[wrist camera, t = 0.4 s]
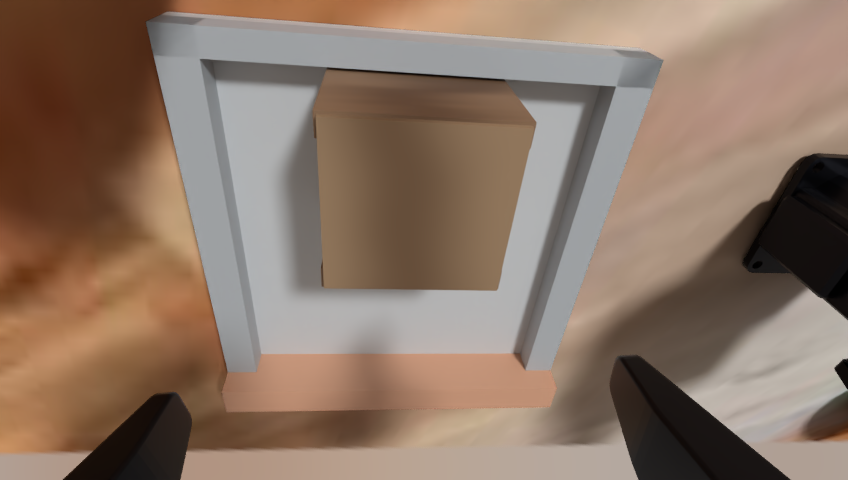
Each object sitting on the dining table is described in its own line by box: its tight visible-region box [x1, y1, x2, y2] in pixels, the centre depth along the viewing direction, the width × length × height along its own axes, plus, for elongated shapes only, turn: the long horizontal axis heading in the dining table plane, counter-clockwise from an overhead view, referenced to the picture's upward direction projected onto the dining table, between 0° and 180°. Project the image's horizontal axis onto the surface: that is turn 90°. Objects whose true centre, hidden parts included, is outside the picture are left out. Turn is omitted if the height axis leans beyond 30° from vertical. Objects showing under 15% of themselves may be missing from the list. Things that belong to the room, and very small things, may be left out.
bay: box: [146, 12, 663, 412], centre depth 21 cm, size 17×18×3 cm
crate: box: [312, 67, 537, 291], centre depth 16 cm, size 6×6×5 cm
